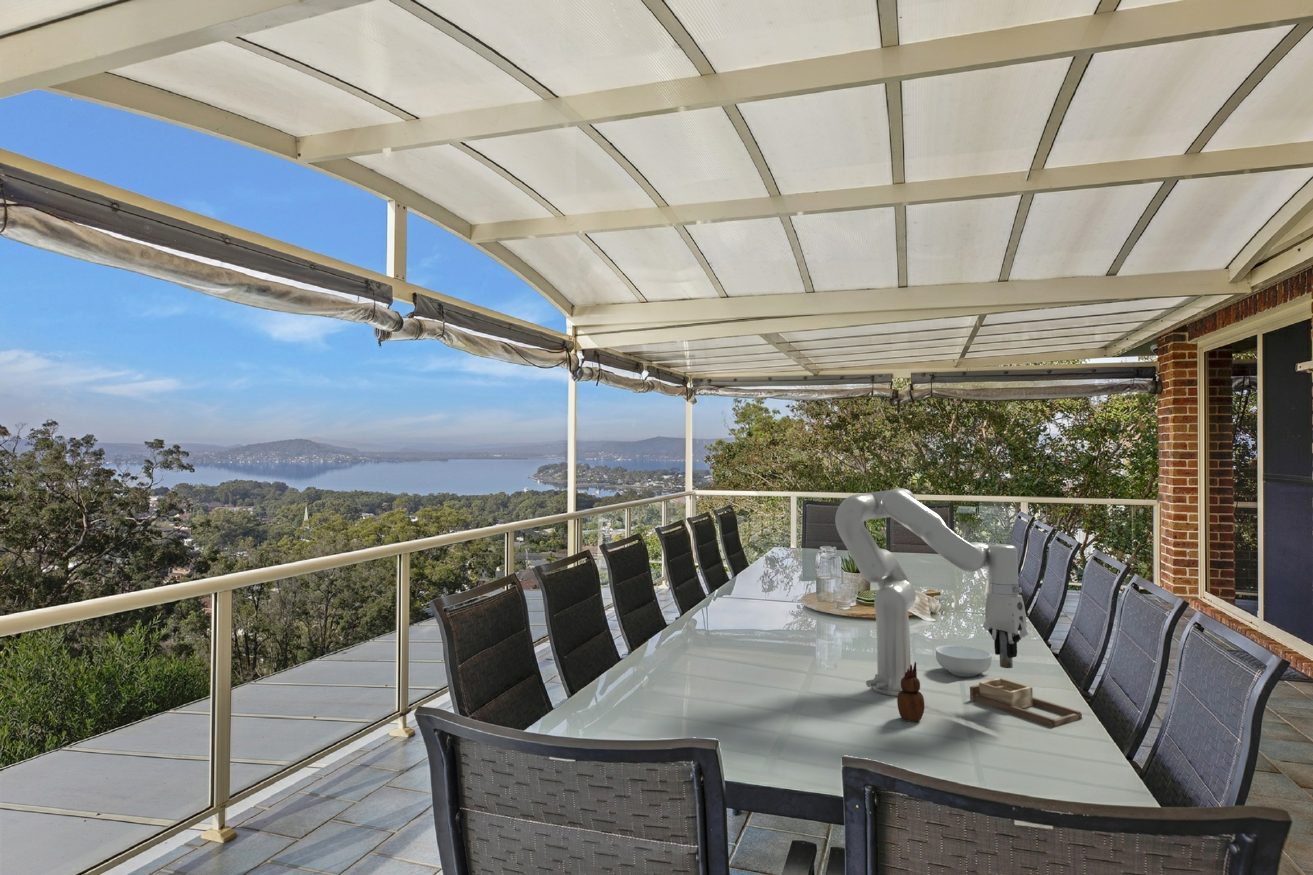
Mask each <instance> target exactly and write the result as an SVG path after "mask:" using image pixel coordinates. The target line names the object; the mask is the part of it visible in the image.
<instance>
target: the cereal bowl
mask: <svg viewBox="0 0 1313 875" xmlns="http://www.w3.org/2000/svg"><path fill="white" fill-rule="evenodd" d="M992 656H993V655H992V653H991V652H990V651H987V650H985V649H982V648H977V647H973V646H967V645H965V646H964V645H941V646H937V647H936V648H935V659H936V661H937V663H938V665H939V666H940V667H942V668H943V669H944V670H946V671H949V673H951V675H954V676H958V677H966V678H967V677H968V678H971V677H972V678H973V677H976V676H977V675H979V674H983V673H986V672H987V671H988V670H989V669H990V667H991V665H992V660H993V659H992Z"/></svg>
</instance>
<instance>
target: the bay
mask: <svg viewBox="0 0 1313 875" xmlns="http://www.w3.org/2000/svg"><path fill="white" fill-rule="evenodd" d="M969 701H971V702H976V703H978V704H982V705H985V706H988V707H990V708H994V709H996V710H999V711H1002V712H1005V713H1008V714H1012V715H1015V716H1017V717H1021V718H1023V719H1027V720H1030V721H1032V722H1035V723H1039V724H1042V725H1044V726H1046V727H1048V728H1055V727H1058V726H1062V725H1065V724H1069V723H1072V722H1075V721H1079V720H1082V719H1083V713H1082V712H1081V711H1080V710H1076V709H1073V708H1070V707H1066V706H1063V705H1060V704H1057V703H1053V702H1050V701H1048V700H1047V701H1046V700H1043V699H1041V698H1040V699H1039V698H1036V697H1035V696H1033V706H1034V707H1037V708H1040V709H1044V710H1047V711H1050V712H1054V713H1056V714H1060V715H1064V716H1061V717H1057V718H1053V717H1048V716H1046V715H1042V714H1039V713H1036V712H1034V711H1031V710H1027V709H1025V708H1022V709H1021V708H1018V707H1015V706H1012V705H1009V704H1006V703H1003V702H1000V701H997V700H994V699H991V698H988V697H984V696H981V695H979V684H975V685H972V686H969Z"/></svg>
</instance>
